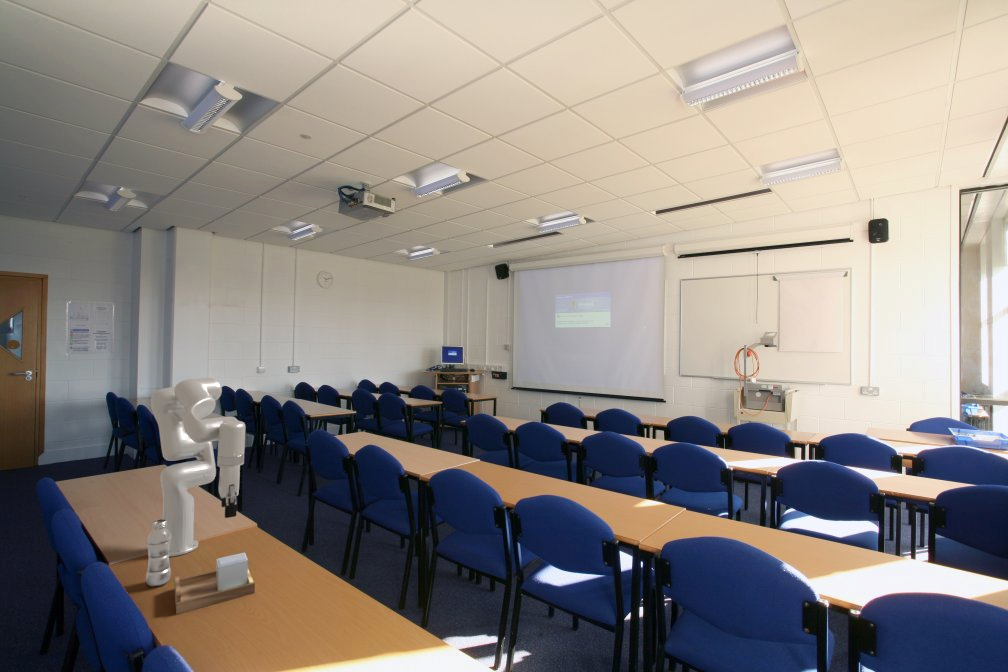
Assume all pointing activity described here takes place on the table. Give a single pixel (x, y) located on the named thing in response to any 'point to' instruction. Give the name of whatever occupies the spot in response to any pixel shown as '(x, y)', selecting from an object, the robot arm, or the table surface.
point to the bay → (206, 591)
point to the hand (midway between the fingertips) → (228, 511)
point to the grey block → (231, 571)
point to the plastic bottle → (158, 554)
